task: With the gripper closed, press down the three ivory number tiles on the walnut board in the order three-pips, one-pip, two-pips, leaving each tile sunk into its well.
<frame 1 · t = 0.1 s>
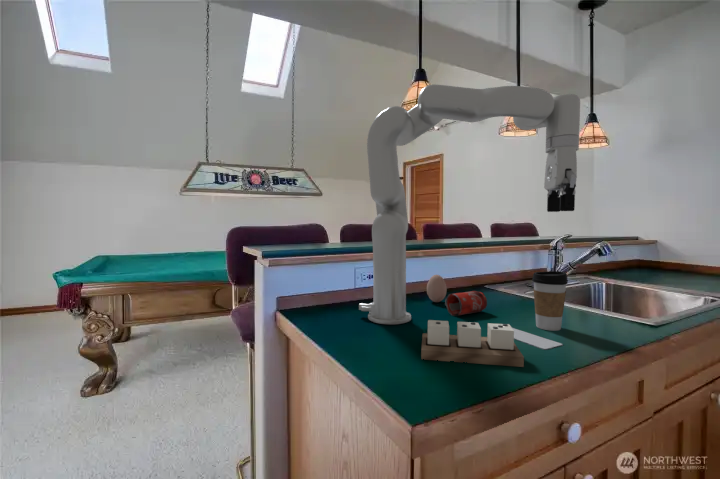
hand: (559, 211, 93), 31 cm above the counter, fingers open, 9 cm apart
coffee cup: (548, 328, 95), on the counter
egg: (436, 302, 124), on the counter
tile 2: (468, 333, 77), point 4 cm above the counter, slide at 0.0 cm
tile 1: (438, 331, 78), point 4 cm above the counter, slide at 0.0 cm
board: (468, 352, 77), on the counter
beverage can: (466, 313, 110), on the counter
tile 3: (500, 335, 76), point 4 cm above the counter, slide at 0.0 cm
smartphone: (526, 340, 87), on the counter
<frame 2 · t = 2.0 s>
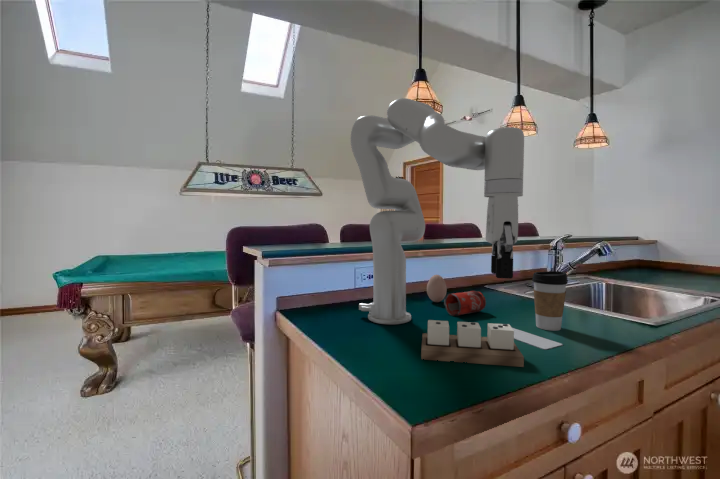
hand: (501, 274, 75), 17 cm above the counter, fingers open, 5 cm apart
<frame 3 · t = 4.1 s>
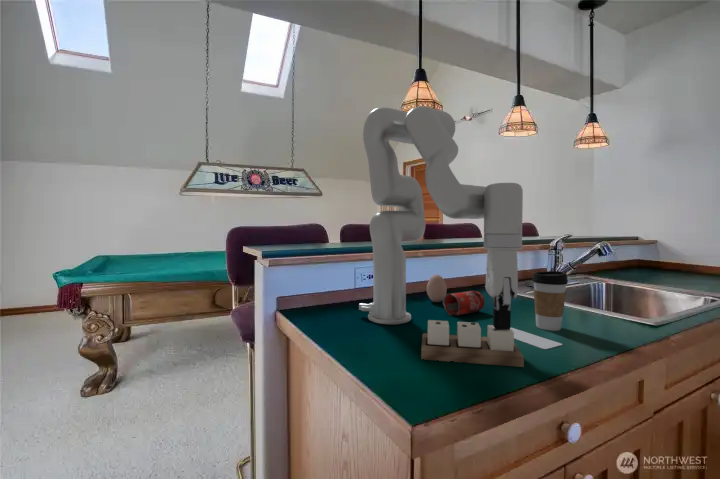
hand: (501, 327, 76), 6 cm above the counter, fingers closed
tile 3: (500, 337, 76), point 4 cm above the counter, slide at 0.4 cm, touching gripper
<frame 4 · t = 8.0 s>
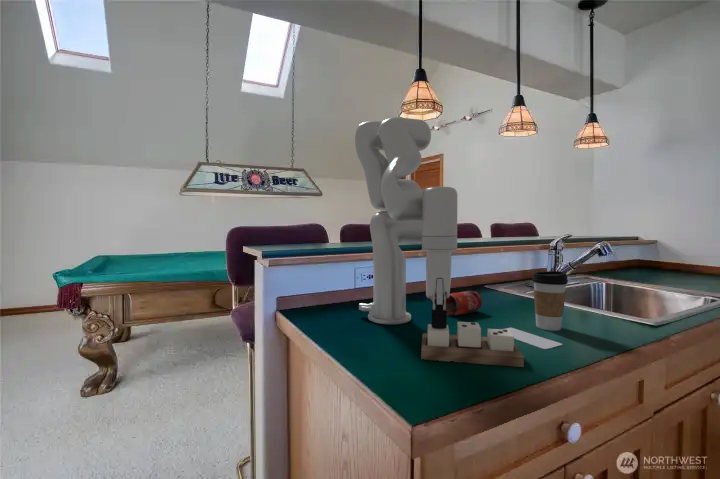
hand: (438, 326, 78), 6 cm above the counter, fingers closed
tile 1: (438, 336, 79), point 3 cm above the counter, slide at 1.0 cm, touching gripper
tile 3: (500, 341, 76), point 3 cm above the counter, slide at 1.2 cm
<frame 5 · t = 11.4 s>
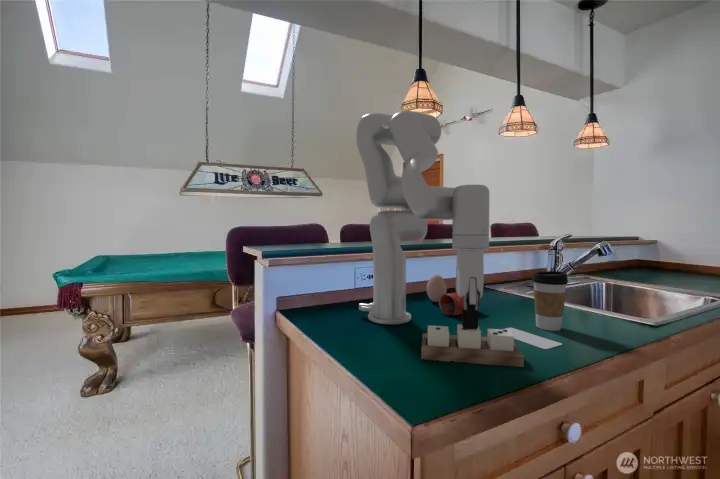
hand: (469, 327, 77), 6 cm above the counter, fingers closed
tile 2: (468, 336, 77), point 4 cm above the counter, slide at 0.6 cm, touching gripper
tile 1: (438, 337, 79), point 3 cm above the counter, slide at 1.2 cm
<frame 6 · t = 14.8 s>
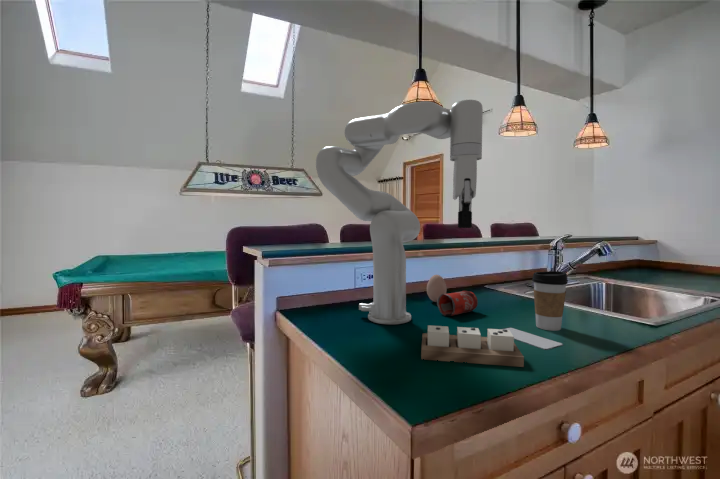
hand: (464, 227, 89), 27 cm above the counter, fingers closed
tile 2: (468, 339, 77), point 3 cm above the counter, slide at 1.2 cm
at the end: tile 1 slide at 1.2 cm; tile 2 slide at 1.2 cm; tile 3 slide at 1.2 cm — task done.
